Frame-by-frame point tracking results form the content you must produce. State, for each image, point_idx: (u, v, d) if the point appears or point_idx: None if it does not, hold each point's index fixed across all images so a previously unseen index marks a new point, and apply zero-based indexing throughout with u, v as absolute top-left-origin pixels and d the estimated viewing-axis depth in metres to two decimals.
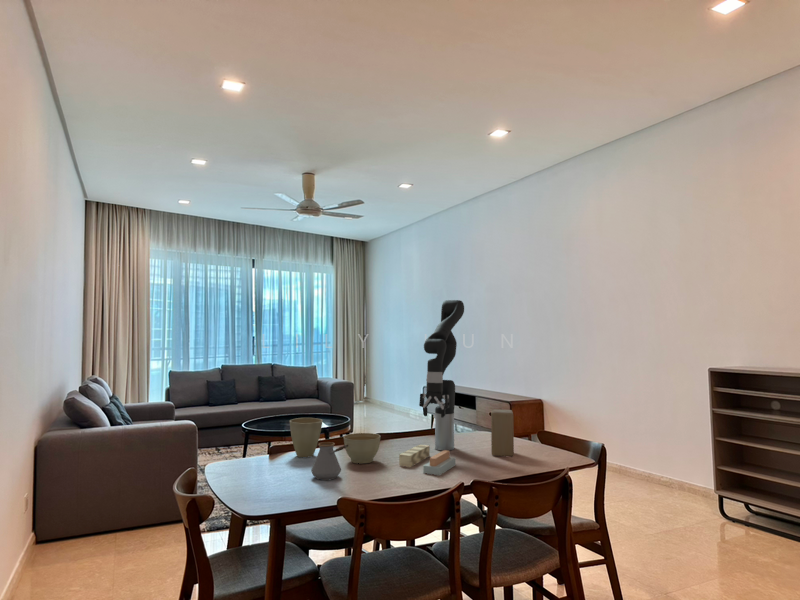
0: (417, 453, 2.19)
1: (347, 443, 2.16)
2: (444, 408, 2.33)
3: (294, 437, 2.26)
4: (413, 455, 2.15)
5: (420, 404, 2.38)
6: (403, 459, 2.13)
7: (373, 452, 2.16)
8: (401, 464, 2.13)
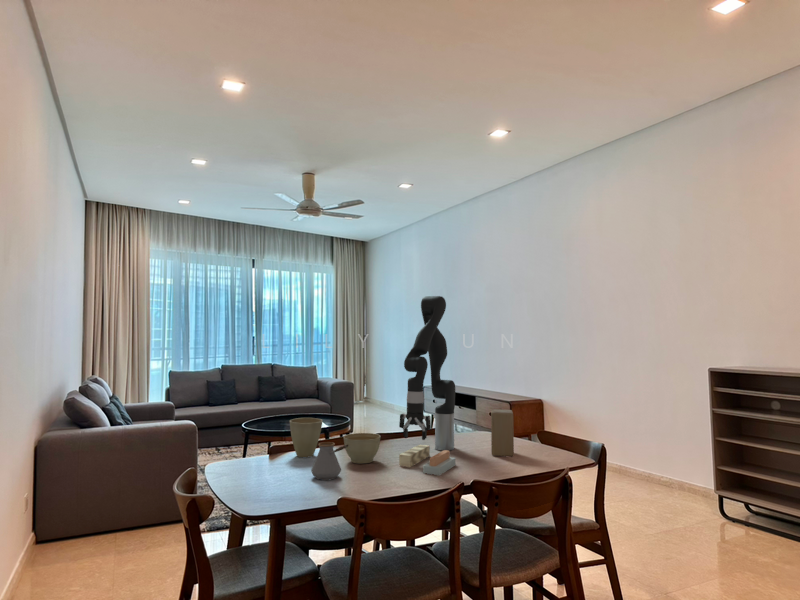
0: (417, 453, 2.19)
1: (347, 443, 2.16)
2: (425, 430, 2.20)
3: (294, 437, 2.26)
4: (413, 455, 2.15)
5: (400, 425, 2.25)
6: (403, 459, 2.13)
7: (373, 452, 2.16)
8: (401, 464, 2.13)
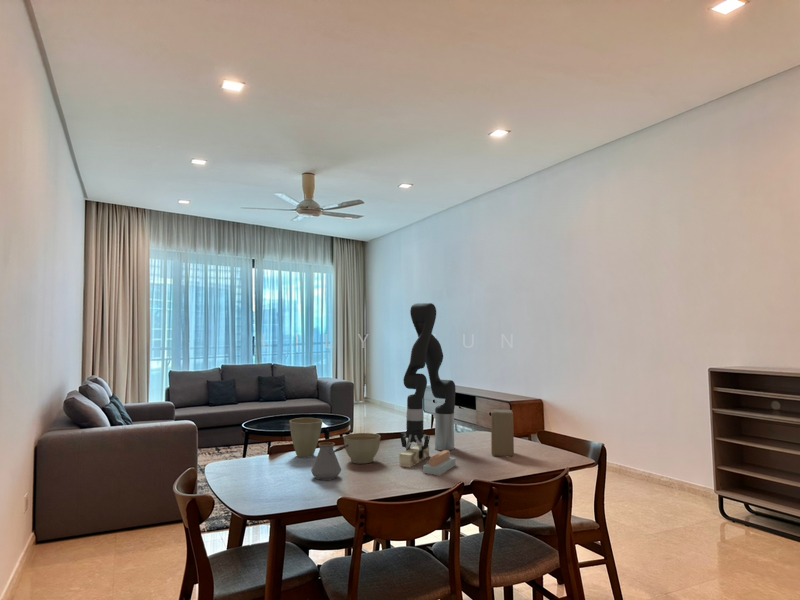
0: (417, 453, 2.19)
1: (347, 443, 2.16)
2: (422, 449, 2.21)
3: (294, 437, 2.26)
4: (413, 455, 2.15)
5: (403, 444, 2.24)
6: (403, 459, 2.13)
7: (373, 452, 2.16)
8: (401, 464, 2.13)
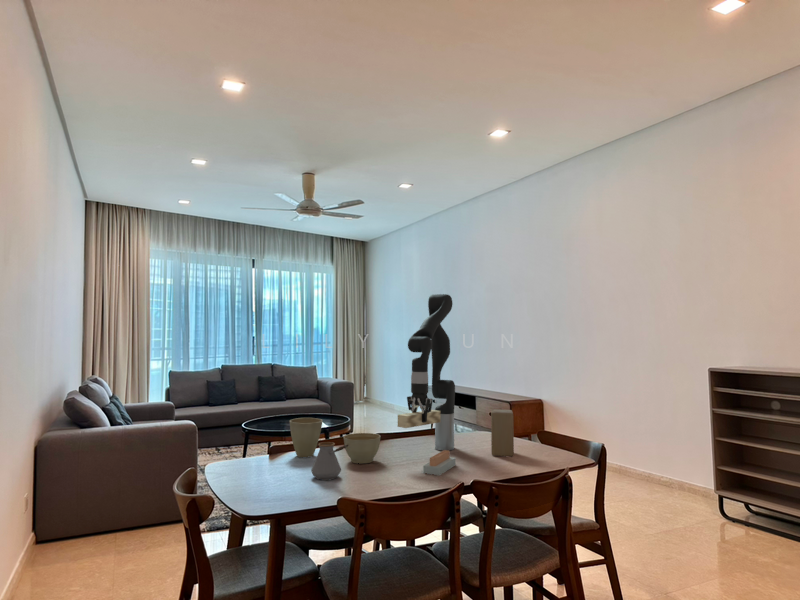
0: (418, 415, 2.17)
1: (347, 443, 2.16)
2: (424, 413, 2.18)
3: (294, 437, 2.26)
4: (411, 416, 2.14)
5: (409, 408, 2.24)
6: (400, 419, 2.13)
7: (373, 452, 2.16)
8: (399, 424, 2.14)
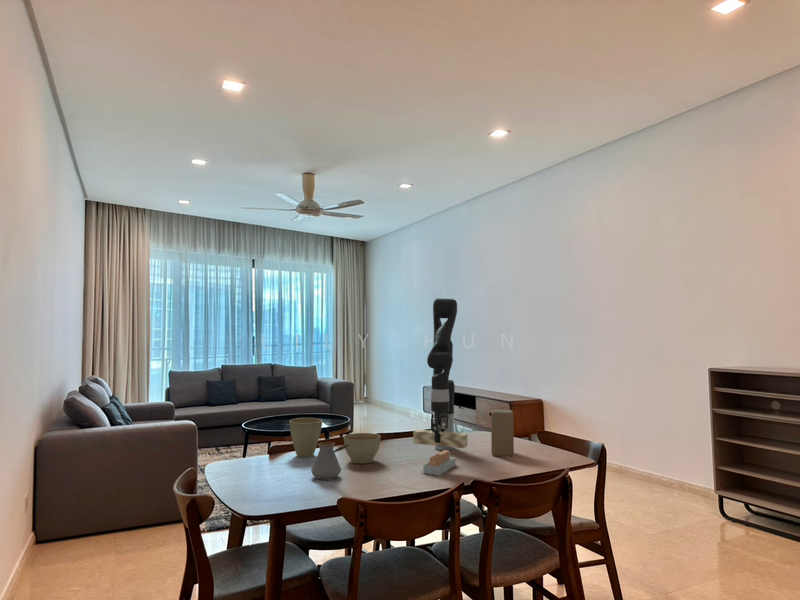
0: (430, 434, 2.09)
1: (347, 443, 2.16)
2: (435, 432, 2.07)
3: (294, 437, 2.26)
4: (421, 433, 2.11)
5: None
6: None
7: (373, 452, 2.16)
8: None
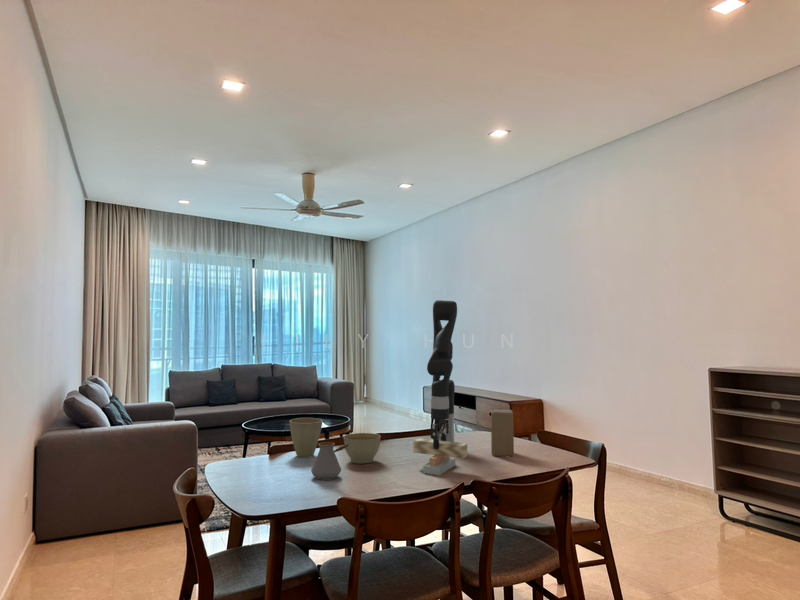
0: (430, 443, 2.09)
1: (347, 443, 2.16)
2: None
3: (294, 437, 2.26)
4: (421, 442, 2.11)
5: None
6: None
7: (373, 452, 2.16)
8: None
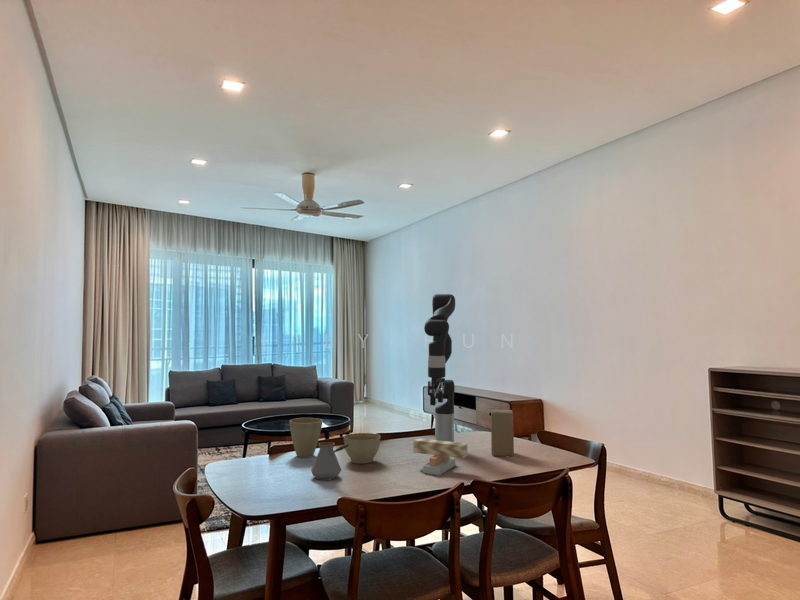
0: (430, 443, 2.09)
1: (347, 443, 2.16)
2: None
3: (294, 437, 2.26)
4: (421, 442, 2.11)
5: None
6: None
7: (373, 452, 2.16)
8: None
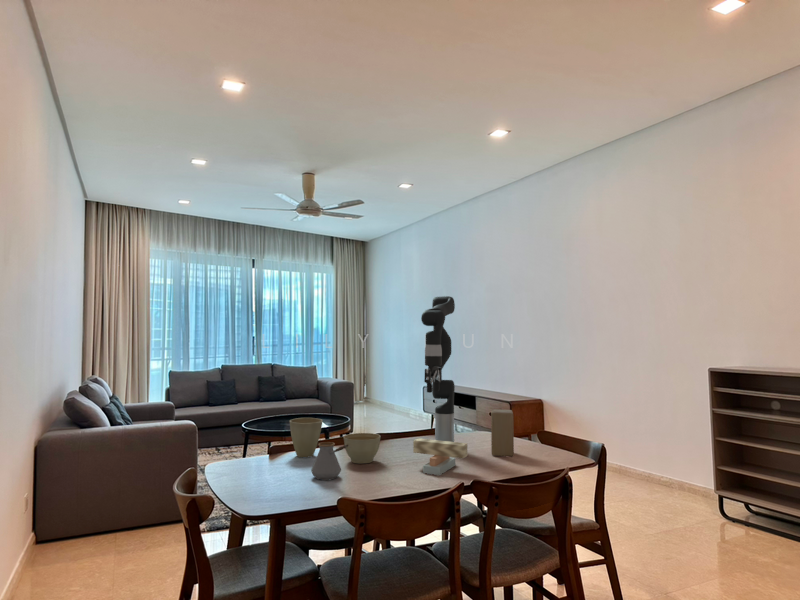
0: (430, 443, 2.09)
1: (347, 443, 2.16)
2: None
3: (294, 437, 2.26)
4: (421, 442, 2.11)
5: None
6: None
7: (373, 452, 2.16)
8: None
